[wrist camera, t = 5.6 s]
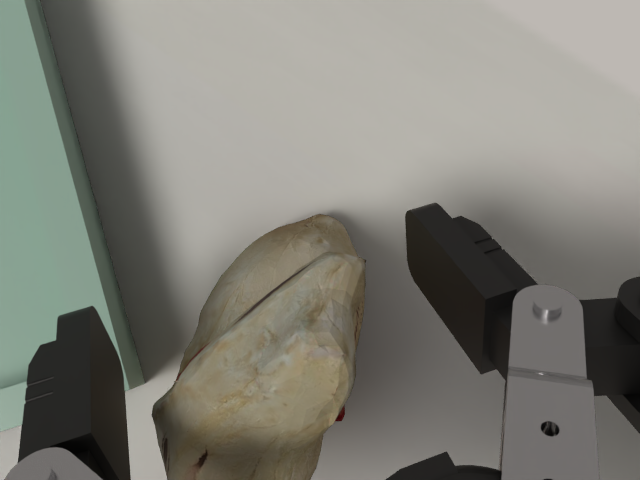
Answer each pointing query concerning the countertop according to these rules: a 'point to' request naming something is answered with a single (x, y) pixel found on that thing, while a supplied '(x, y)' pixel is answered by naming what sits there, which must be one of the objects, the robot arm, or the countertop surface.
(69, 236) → the tray
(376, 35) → the countertop surface
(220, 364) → the chocolate bunny
